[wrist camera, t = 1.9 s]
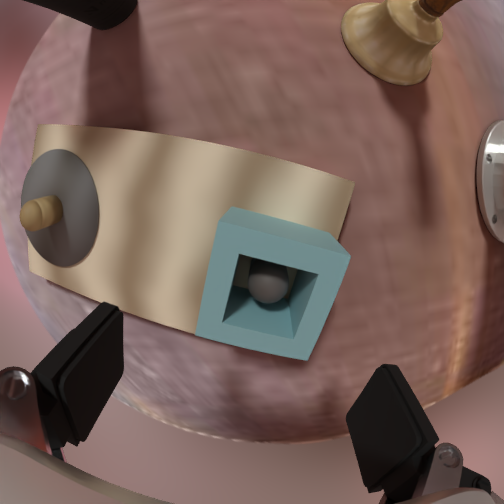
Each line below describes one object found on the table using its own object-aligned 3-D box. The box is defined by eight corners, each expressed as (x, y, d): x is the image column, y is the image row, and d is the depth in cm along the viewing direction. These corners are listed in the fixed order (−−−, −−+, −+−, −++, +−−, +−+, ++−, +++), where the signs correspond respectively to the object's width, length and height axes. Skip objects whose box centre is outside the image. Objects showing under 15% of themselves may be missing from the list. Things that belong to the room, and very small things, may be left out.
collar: (329, 232, 18) (351, 256, 13) (299, 317, 20) (307, 360, 15) (231, 206, 17) (218, 220, 13) (211, 296, 19) (195, 335, 15)
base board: (346, 180, 18) (378, 187, 13) (290, 342, 23) (296, 391, 17) (45, 125, 18) (0, 123, 12) (35, 261, 22) (-2, 282, 16)
